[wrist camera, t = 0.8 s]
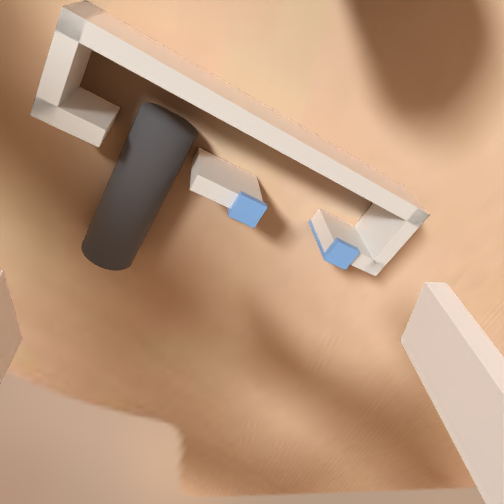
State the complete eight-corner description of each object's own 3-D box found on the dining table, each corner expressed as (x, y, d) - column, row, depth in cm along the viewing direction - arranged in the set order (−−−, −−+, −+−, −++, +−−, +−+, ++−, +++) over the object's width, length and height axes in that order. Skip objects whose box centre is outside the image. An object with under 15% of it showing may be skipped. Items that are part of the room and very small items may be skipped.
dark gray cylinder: (132, 246, 36) (131, 276, 33) (85, 230, 34) (78, 260, 31) (194, 122, 30) (199, 143, 27) (141, 96, 29) (140, 116, 26)
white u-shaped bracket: (54, 98, 28) (24, 123, 24) (85, 0, 25) (58, 7, 21) (354, 244, 37) (375, 283, 33) (403, 185, 34) (433, 218, 30)
